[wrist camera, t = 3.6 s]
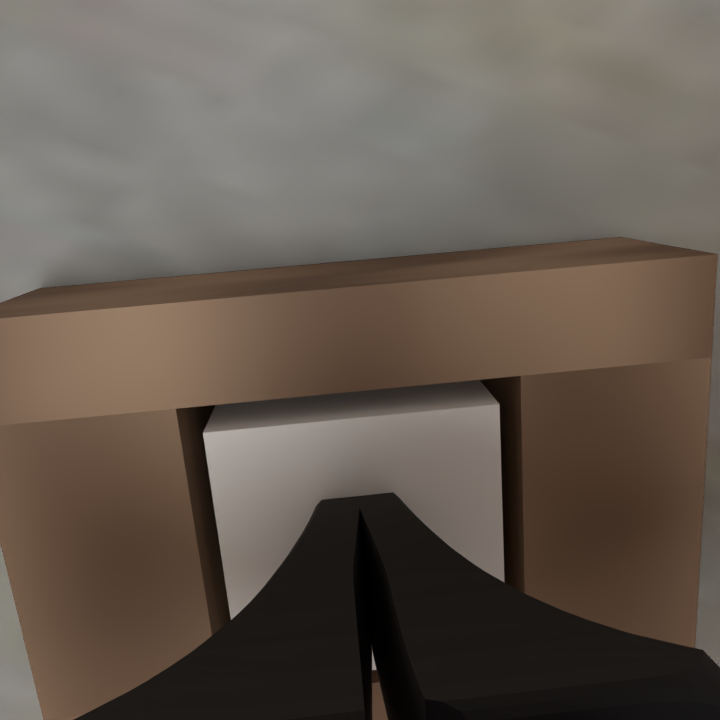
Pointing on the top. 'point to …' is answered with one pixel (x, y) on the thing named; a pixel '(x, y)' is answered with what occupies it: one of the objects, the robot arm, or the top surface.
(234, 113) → the top surface
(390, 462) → the white block
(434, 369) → the brown block tray
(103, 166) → the top surface
